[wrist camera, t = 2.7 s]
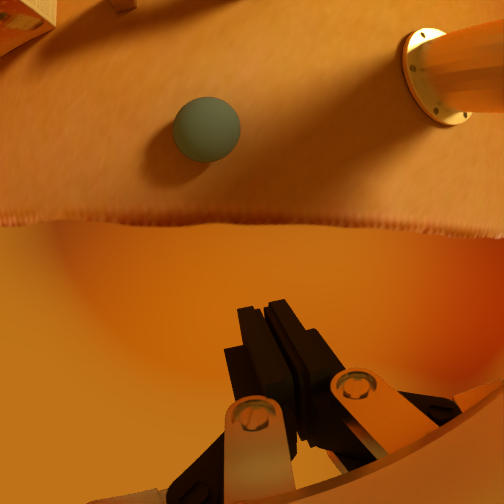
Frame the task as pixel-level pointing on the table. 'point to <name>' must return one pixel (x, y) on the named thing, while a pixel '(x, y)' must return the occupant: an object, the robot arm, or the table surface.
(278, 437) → the robot arm
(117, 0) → the bridge
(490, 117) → the table surface
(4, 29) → the small box
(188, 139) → the ball
